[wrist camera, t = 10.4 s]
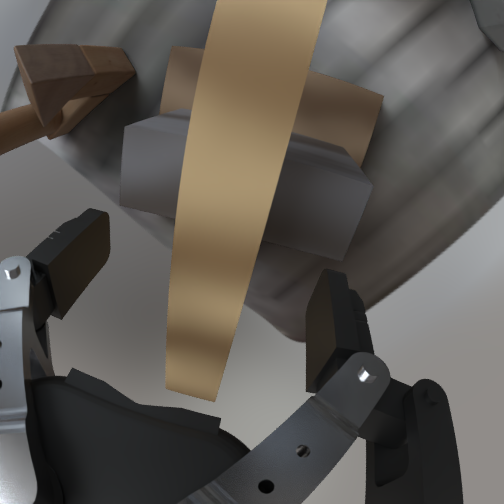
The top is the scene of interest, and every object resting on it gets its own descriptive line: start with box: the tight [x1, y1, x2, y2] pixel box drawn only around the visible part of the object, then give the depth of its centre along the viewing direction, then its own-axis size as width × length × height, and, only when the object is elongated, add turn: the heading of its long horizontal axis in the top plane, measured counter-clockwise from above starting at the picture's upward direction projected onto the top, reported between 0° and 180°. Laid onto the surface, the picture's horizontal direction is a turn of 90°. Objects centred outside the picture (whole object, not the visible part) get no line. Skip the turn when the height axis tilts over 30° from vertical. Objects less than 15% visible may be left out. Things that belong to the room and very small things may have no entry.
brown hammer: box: [0, 44, 136, 155], centre depth 17 cm, size 4×11×18 cm, turn 118°
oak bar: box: [166, 0, 327, 402], centre depth 15 cm, size 24×4×5 cm, turn 166°
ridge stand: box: [120, 46, 384, 262], centre depth 21 cm, size 16×18×12 cm
